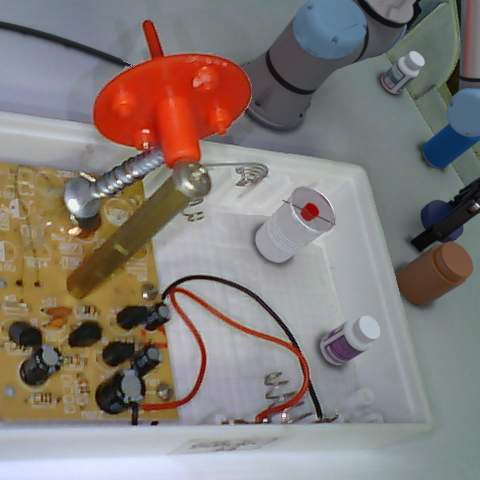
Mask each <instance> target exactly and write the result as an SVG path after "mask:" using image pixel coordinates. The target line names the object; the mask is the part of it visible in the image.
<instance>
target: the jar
mask: <svg viewBox="0 0 480 480" xmlns="http://www.w3.org/2000/svg"><path fill="white" fill-rule="evenodd" d="M473 272H474V262H473V259H472V257H471V256H470V253H468V251H467V250H466V248H464V247H463V245H461V244H459V243H457V242H455V241H453V242H451V241H450V242H445V243H436V244H435V245H433V246H432V247H431V248H429V249H427V250H426V251H425V252H423V253H422V254H420V255H419V256H417V257H416V258H414V259H412V260H411V261H410V262H408V263H407V264H405V265H403V266H402V267H401V268H400V269H399V270H398V272H397V274H396V281H397V282H396V283H397V286H398V289H399V290H400V292H401V294H402V295H403V297H405V298H406V299H407V301H409V302H410V303H411V304H413V305H416V306H417V307H418V306H419V307H425V306H428V305H430V304H431V303H433V302H435V301H436V300H438V299H440V298H441V297H443V296H445V295H446V294H448V293H450V292H451V291H453V290H455V289H457V288H458V287H460V286H461V285H463V284H464V283H465V282H466V281H467V280H468V278H469V277H470V276H472V274H473Z"/></svg>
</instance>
